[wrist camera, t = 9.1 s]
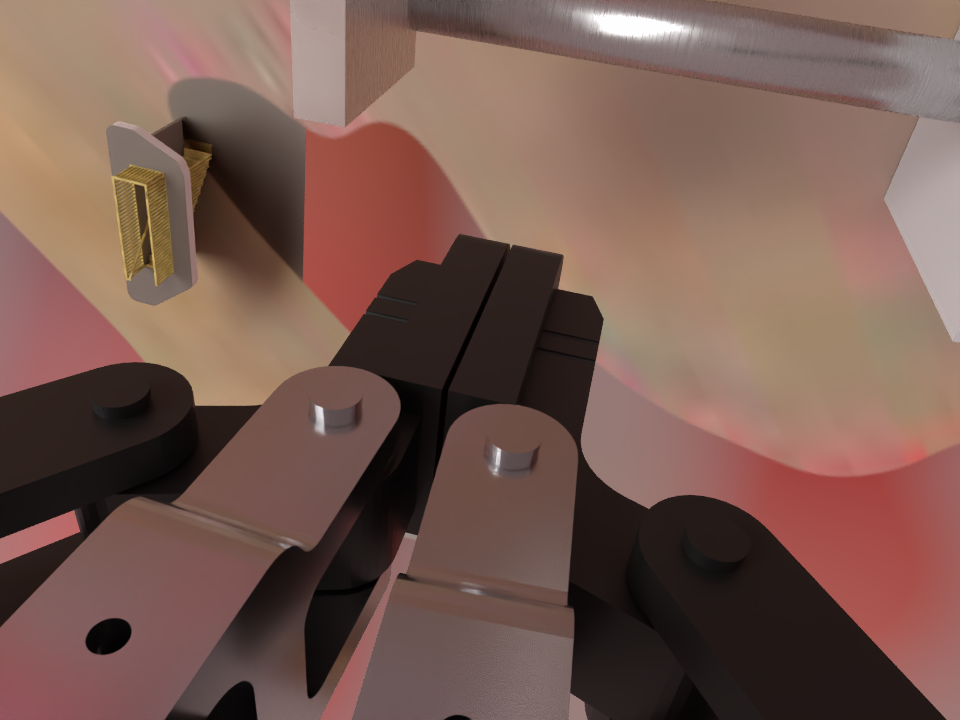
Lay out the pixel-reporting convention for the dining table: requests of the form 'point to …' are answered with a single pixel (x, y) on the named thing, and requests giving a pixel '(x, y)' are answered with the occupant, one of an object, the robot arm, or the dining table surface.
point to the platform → (175, 187)
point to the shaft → (624, 49)
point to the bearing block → (932, 211)
